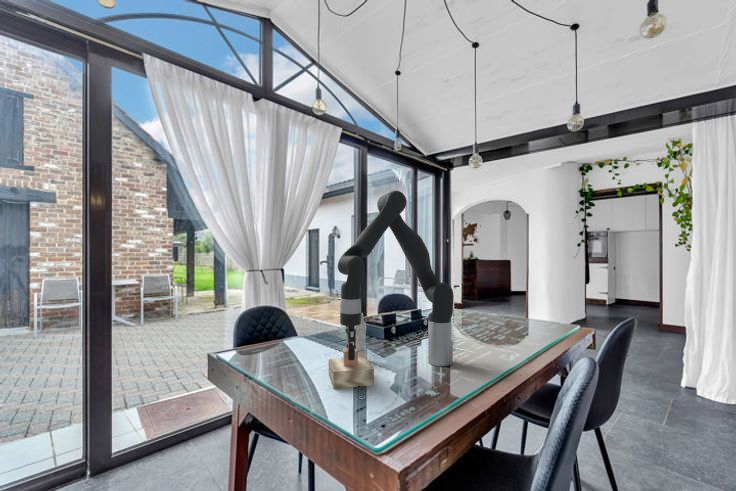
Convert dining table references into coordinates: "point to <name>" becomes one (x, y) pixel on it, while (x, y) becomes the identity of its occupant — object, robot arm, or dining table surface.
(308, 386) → the dining table surface
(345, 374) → the beige square slab
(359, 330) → the plastic bottle
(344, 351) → the terracotta block
